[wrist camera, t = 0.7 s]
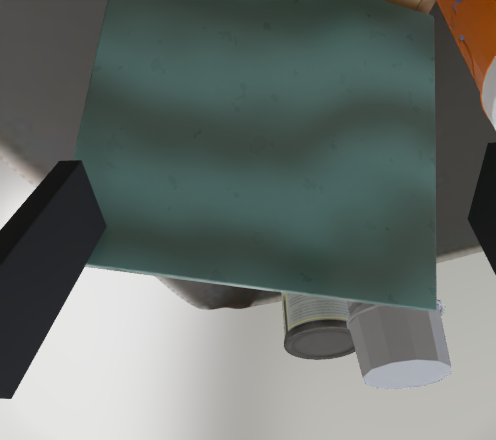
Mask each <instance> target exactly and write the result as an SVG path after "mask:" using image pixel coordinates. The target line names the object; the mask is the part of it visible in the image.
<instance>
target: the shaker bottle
mask: <svg viewBox="0 0 496 440" xmlns="http://www.w3.org/2000/svg"><path fill="white" fill-rule="evenodd" d="M436 1H437V3H438V5H439V7H440V9H441V11H442V13H443V16H444V18H445V20H446V22H447V24H448V26H449V28H450V30H451V32H452V34H453V36H454V38H455V41H456V43H457V45H458V47H459V49H460V51H461V53H462V55H463V57H464V59H465V61H466V63H467V65H468V67H469V70H470V72H471V74H472V76H473V78H474V80H475V82H476V84H477V86H478V88H479V91H480V93H481V94H480V97H481V103H482V108H483V110H484V112H485V114H486V116H487V117H488V118H489V119H490V121H491V123H492V125H493V126H494V128H495V130H496V0H436Z"/></svg>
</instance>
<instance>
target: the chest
mask: <svg viewBox="0 0 496 440" xmlns="http://www.w3.org/2000/svg"><path fill="white" fill-rule="evenodd" d="M383 1H386V2H389V3H392V4H396V5H399V6H402V7H406V8H409V9H412V10H415V11H419V12H422V13H425V14H429V12H430V10H431V9H432V7H433V5H434V4H435V2H436V0H383Z"/></svg>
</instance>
